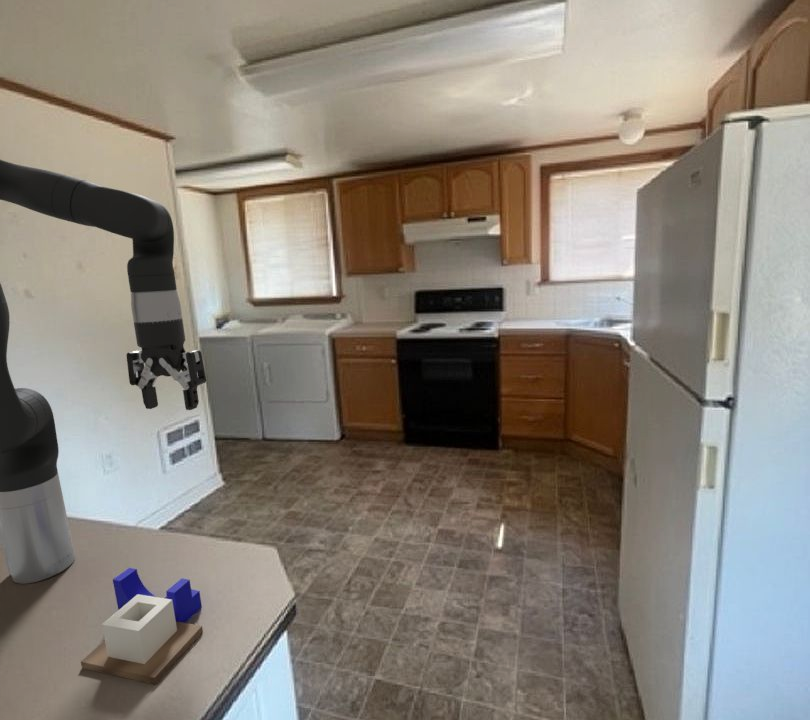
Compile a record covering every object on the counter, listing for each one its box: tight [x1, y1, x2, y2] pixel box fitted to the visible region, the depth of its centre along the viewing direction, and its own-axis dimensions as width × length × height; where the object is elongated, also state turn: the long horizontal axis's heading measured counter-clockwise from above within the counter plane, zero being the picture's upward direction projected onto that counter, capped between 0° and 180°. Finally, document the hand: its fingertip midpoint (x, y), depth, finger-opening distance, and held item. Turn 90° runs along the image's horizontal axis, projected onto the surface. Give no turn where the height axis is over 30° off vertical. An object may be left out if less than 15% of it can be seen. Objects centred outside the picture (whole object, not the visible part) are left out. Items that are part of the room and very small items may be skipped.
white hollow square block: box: [101, 594, 177, 664], centre depth 65 cm, size 6×6×5 cm
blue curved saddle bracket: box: [112, 567, 203, 623], centre depth 73 cm, size 12×4×6 cm, turn 72°
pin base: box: [80, 619, 203, 685], centre depth 65 cm, size 12×9×5 cm
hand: (171, 408), depth 84 cm, fingers open, 8 cm apart
